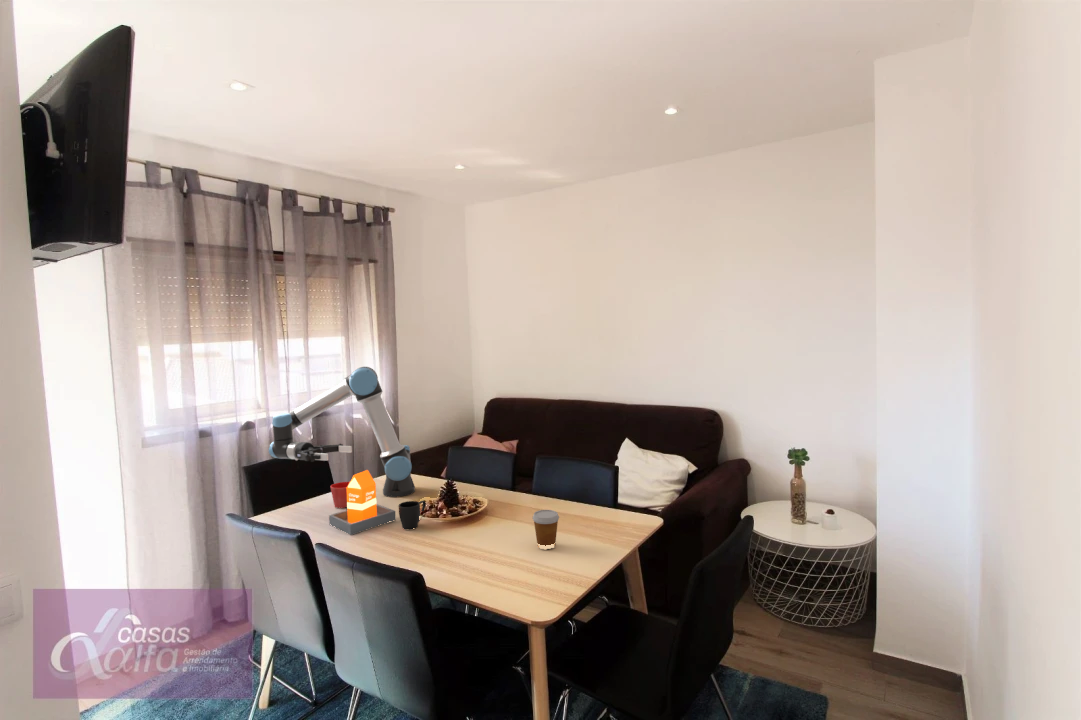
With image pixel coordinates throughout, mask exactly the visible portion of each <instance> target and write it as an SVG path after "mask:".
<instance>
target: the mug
mask: <svg viewBox="0 0 1081 720" xmlns="http://www.w3.org/2000/svg"><path fill="white" fill-rule="evenodd" d="M421 504H422V507H421ZM426 505H427V504H426V501H425V500H421V501H416V500H407V501H403V502H401V503H399V504H398V516H399V521H400V524H401V527H402V529H403V528H404V529H413V528H415V529H417V528H418V524H419V523H420V521H421V519H420V520H419V516H420V512H421V511H424V512H425V508H426ZM416 527H417V528H416ZM404 529H403V530H404ZM413 530H414V529H413Z"/></svg>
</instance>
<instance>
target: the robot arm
mask: <svg viewBox="0 0 1081 720" xmlns="http://www.w3.org/2000/svg"><path fill="white" fill-rule="evenodd" d="M382 395H383V389H382V386H381V384H380V382H379V376H378V374H377V372H376V371H375V370H374V369H373V368H371V367H370V366H361V367H358V368H357V369H355V370H354V371H353V372H352V373H351V374H350V375H347V377H344V379H343V381H342V382H340V383H339V384H337V385H335V386H333V387H331V388H329V389H328V390H327V391H325V392H323V393H321V394H319V395H317V396H316V397H313V398H311V399H310V400H308V401H307V402H305V403H304V404H302V405H300V406H298V407H297V408H295V409H293V410H291V411H290V412H289V411H288V413H278V414H277V413H276V414H274V415H273V416H272V422H271V423H272V432H273V441H272V442H271V443H270V444H269V448H268V453H269V455H270V456H271V457H272V458H275V459H280V460H284V459H285V460H295V461H296V462H297V461H298V460H300V461H305V462H310V463H315V461H323V462H325V461H327V462H328V461H329V453H337V452H339V453H349V454H351V453H353V446H352V445H343V443H339V444H327V445H326V444H320V445H315V446H314V444H312V443H311V442H308V441H305V442H304V441H294V437H293V431H294V429H297V428H298V427H300V426H301V425H303V424H304V423H307V422H308V421H311V420H312V419H313V418H315V417H317V416H318V415H320V414H322V413H324V412H325V411H327V410H329V409H331V408H333V407H334V406H336V405H337V404H339V403H341V402H343V401H344V400H346V399H348V398H350V397H351V396H355V399H356V400H357V402H358V403H359V404H360V403H361V404H362V406H363V409H364V411H365V414H366V416H367V418H368V422H369V423H370V427H371V429H372V432H373V433H374V436H375V438H376V441H377V443H378V445H379V446H378V447H379V448H380V451H381V453H380V455H379V457H380V460H381V462H382V465H383V468H384V473H385V479H384V480H385V481H384V483H383V488H382V495H383V496H384V497H388V496H389V497H390V498H397V496H400V497H404V496H405V497H406V496H409V495H412V494H414V493H415V492H416V488H415V487H416V486H415V483H414V481H413V478H412V474H411V473H412V468H413V467H412V466H413V465H412V462H411V449H410V446H409V445H407V444H401V443H400V441H399V439H398V436H397V434H396V430H395V429H394V426H393V424H392V421H391V419H390V416H389V414H388V411H387V409H386V407H385V404H384V401H383V398H382ZM413 492H414V493H413Z"/></svg>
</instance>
